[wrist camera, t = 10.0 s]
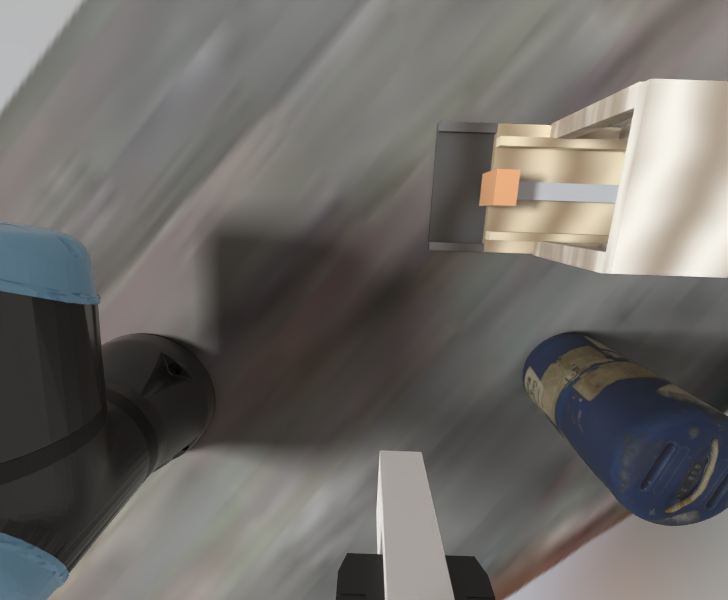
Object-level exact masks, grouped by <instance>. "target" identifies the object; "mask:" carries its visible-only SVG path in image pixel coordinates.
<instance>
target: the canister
mask: <svg viewBox="0 0 728 600" xmlns="http://www.w3.org/2000/svg"><path fill="white" fill-rule="evenodd" d="M523 383H524V387H525V389H526V392H527V394H528V395H529V397H530V398H531V399H532V401H533V402H534V403H535V404H536V405H537V406H538V407H539V408H540V409H541V411H542V412H543V413H544V414H545V416H546V417H547V418H548V419H549V420H550V422H551V423H552V424H553V425H554V426H555V428H556V429H557V430H558V431H559V433H560V434H561V435H562V436H563V437H564V439H565V440H566V441H567V442H568V443H569V444H570V445H571V446H572V447H573V449H574V450H575V451H576V452H577V453H578V454H579V456H580V457H581V458H582V459H583V460H584V461H585V463H586V464H587V465H588V466H589V467H590V468H591V470H592V471H593V472H594V473H595V474H596V476H597V477H598V478H599V479H600V480H601V481H602V483H603V484H604V485H605V486H606V487H607V488H608V489H609V490H610V491H611V492H612V494H613V495H614V496H615V498H616V499H617V500H618V501H619V502H620V503H621V504H622V505H623V506H624V507H625V508H626V509H627V510H629V511H630V512H631V513H633V514H635V515H636V516H638V517H640V518H642V519H644V520H646V521H649V522H652V523H656V524H661V525H666V526H667V525H668V526H680V525H688V524H693V523H697V522H701V521H704V520H706V519H709V518H711V517H713V516H715V515H717V514H719V513H721V512H722V511H723V510H725V509H726V508H728V416H726V415H725V414H723V413H722V412H720V411H719V410H717V409H715V408H713V407H712V406H710V405H708V404H707V403H705V402H703V401H701V400H700V399H698V398H696V397H695V396H693V395H691V394H690V393H688V392H686V391H684V390H683V389H681V388H679V387H678V386H676V385H674V384H672V383H671V382H669V381H667V380H665V379H664V378H662V377H660V376H659V375H657V374H655V373H654V372H652V371H650V370H648V369H647V368H645V367H643V366H640V365H638V364H637V363H635V362H633V361H631V360H630V359H628V358H626V357H624V356H623V355H621V354H619V353H617V352H616V351H614V350H612V349H610V348H609V347H607V346H605V345H603V344H602V343H600V342H598V341H596V340H594V339H592V338H590V337H588V336H585V335H581V334H561V335H557V336H554V337H551V338H549V339H547V340H545V341H544V342H542V343H541V344H539V345H538V346H537V347H536V348H535V349H534V350H533V351H532V352H531V354H530V355H529V357H528V358H527V360H526V363H525V365H524V369H523Z"/></svg>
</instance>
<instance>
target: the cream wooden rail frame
mask: <svg viewBox="0 0 728 600" xmlns="http://www.w3.org/2000/svg"><path fill="white" fill-rule="evenodd" d="M630 118H632V122H631V123H629V124H626V125H623V126H621V128H613V127H607V126H610V125H613V124H616V123H619V122H621V121H624V120H627V119H630ZM495 169H515V170H521V171H520V179H519V182H543V183H572V184H600V185H619V188H618V193H617V198H616V203H594V202H566V201H537V200H517V201H516V206H502V207H497V206H479V202H480V193H481V184H482V175H483V173H486V172H489V171H492V170H495ZM428 249H429V250H443V251H472V252H500V253H529V254H532V255H534V256H538V257H541V258H545V259H549V260H553V261H557V262H561V263H564V264H568V265H572V266H576V267H580V268H583V269H587V270H591V271H595V272H599V273H608V274H638V275H667V276H694V277H724V278H727V277H728V81H704V80H676V79H649V80H647V81H645V82H638V83H636V84H634V85H632V86H630V87H628V88H625V89H623V90H621V91H619V92H617V93H615V94H613V95H611V96H609V97H607V98H605V99H602V100H600V101H598V102H596V103H594V104H592V105H590V106H588V107H586V108H584V109H581V110H579V111H577V112H575V113H573V114H571V115H569V116H567V117H565V118H563V119H561V120H558V121H556V122H554V123H552V125H527V124H498V123H469V122H441V121H440V122H439V123H438V125H437V138H436V151H435V164H434V177H433V190H432V203H431V216H430V229H429V242H428Z"/></svg>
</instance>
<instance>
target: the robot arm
mask: <svg viewBox="0 0 728 600" xmlns="http://www.w3.org/2000/svg"><path fill="white" fill-rule="evenodd" d="M99 303H100V296H99V295H98V294H97V293H96V288H95V283H94V277H93V271H92V266H91V259H90V255H89V253H88V251H87V249H86V248H85V247H84V245H83V244H82V243H81V242H79V241H78V240H77V239H75V238H74V237H72V236H70V235H67V234H65V233H62V232H58V231H54V230H50V229H44V228H39V227H33V226H27V225H20V224H14V223H7V222H0V600H46V599H47V598H48V597H49V596H50V595H51V594H52V593H53V592H54V591H55V590H56V589H57V588H59V587H60V586H61V585H63V583H64V582H65V581H66V580H67V578H68V576H69V573H70V572H71V570H72V569H73V568H74V567H75V565H76V564H77V563H78V562H79V560H80V559H81V558H82V557H83V555H84V554H85V553H86V552H87V551H88V549H89V548H90V547H91V546H92V544H93V543H94V542H95V541H96V539H97V538H98V537H99V536H100V535H101V533H102V532H103V531H104V530H105V528H106V527H107V526H108V525H109V524H110V522H111V521H112V520H113V519H114V517H115V516H116V515H117V514H118V513H119V511H120V510H121V509H122V508H123V507H124V505H125V504H126V503H127V502H128V500H129V499H130V498H131V497H132V496H133V494H134V493H135V492H136V491H137V489H138V488H139V487H140V486H141V484H142V483H143V482H144V481H145V480H146V478H147V477H148V476H149V475H150V474H151V473H153V472H154V471H156V470H158V469H159V468H161V467H163V466H164V465H166V464H167V463H169V462H170V461H171V460H173V459H175V458H177V457H179V456H180V455H182V454H184V453H185V452H187V451H188V450H189V449H190V448H191V447H192V446H193V445H194V444H195V443H196V442H197V441H198V440H199V438H200V437H201V436H202V434H203V433H204V432H205V430H206V429H207V427H208V426H209V424H210V422H211V420H212V417H213V414H214V408H215V394H214V389H213V385H212V382H211V380H210V377H209V375H208V373H207V372H206V370H205V368H204V367H203V366H202V364H201V363H200V362H199V361H198V359H197V358H196V357H195V356H194V355H192V354H191V353H190V352H189V351H188V350H186V349H185V348H184V347H182V346H180V345H179V344H177V343H175V342H173V341H171V340H169V339H166V338H163V337H160V336H155V335H150V334H130V335H125V336H121V337H118V338H116V339H113V340H111V341H109V342H107V343H105V344H103V345H101V337H100V325H99V312H98V304H99ZM376 514H377V546H378V554H355V553H347V555H346V557H345V559H344V561H343V563H342V565H341V567H340V569H339V571H338V580H337V592H336V600H495V596H494V593H493V590H492V587H491V584H490V581H489V578H488V575H487V574H486V572H485V571H484V569H483V568H482V567H481V565H480V564H479V563H478V561H477V560H476V558H475V557H474V556H445V554H444V550H443V546H442V541H441V537H440V532H439V528H438V523H437V519H436V514H435V510H434V506H433V501H432V497H431V492H430V488H429V483H428V479H427V475H426V470H425V466H424V461H423V457H422V452H411V451H383V450H380V454H379V474H378V493H377V513H376Z"/></svg>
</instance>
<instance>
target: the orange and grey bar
mask: <svg viewBox="0 0 728 600" xmlns="http://www.w3.org/2000/svg"><path fill="white" fill-rule="evenodd" d="M520 171H521V170H515V169H495V170H492V171H489V172H486V173H483V175H482V184H481V193H480V202H479V206H497V207H502V206H516V201H517V200H537V201H566V202H594V203H616V198H617V193H618V188H619V185H600V184H572V183H543V182H519V179H520Z"/></svg>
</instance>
